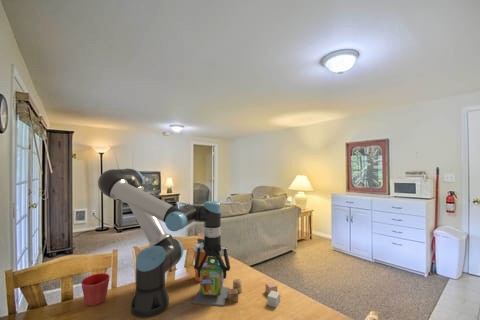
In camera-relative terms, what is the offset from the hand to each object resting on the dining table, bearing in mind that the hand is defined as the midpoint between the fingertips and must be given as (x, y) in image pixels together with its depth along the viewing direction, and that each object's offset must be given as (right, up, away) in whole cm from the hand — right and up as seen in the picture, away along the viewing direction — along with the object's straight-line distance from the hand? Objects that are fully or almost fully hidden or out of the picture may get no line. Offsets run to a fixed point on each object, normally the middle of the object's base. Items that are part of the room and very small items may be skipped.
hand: (212, 284), depth 108 cm
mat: (0, -5, 0) cm, 5 cm away
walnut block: (+10, -5, -3) cm, 11 cm away
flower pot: (-51, -5, -5) cm, 51 cm away
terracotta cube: (+27, -5, +3) cm, 28 cm away
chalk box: (0, -3, 0) cm, 3 cm away
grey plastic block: (+28, -5, -5) cm, 28 cm away
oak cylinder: (+11, -5, +4) cm, 13 cm away
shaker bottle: (-7, -6, +16) cm, 18 cm away
